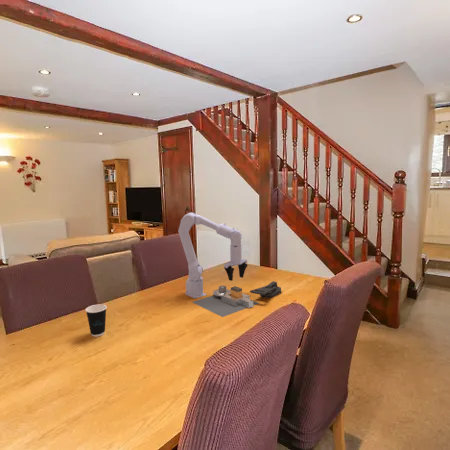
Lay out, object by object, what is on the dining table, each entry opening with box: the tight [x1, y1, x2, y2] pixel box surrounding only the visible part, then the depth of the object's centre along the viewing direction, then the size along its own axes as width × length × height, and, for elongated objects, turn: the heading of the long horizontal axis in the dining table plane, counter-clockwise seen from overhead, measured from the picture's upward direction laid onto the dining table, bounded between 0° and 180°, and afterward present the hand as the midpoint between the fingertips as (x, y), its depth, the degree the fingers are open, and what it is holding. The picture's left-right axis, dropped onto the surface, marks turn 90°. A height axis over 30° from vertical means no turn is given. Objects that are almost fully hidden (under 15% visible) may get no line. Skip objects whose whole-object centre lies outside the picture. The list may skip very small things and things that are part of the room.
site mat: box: [191, 294, 260, 318], centre depth 160 cm, size 24×24×1 cm
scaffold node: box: [212, 285, 254, 309], centre depth 163 cm, size 26×10×5 cm, turn 41°
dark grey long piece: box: [249, 281, 282, 299], centre depth 168 cm, size 9×7×25 cm
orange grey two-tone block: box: [230, 285, 243, 298], centre depth 160 cm, size 5×3×7 cm, turn 40°
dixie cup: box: [84, 303, 108, 338], centre depth 129 cm, size 8×8×11 cm
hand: (236, 278), depth 169 cm, fingers open, 7 cm apart
